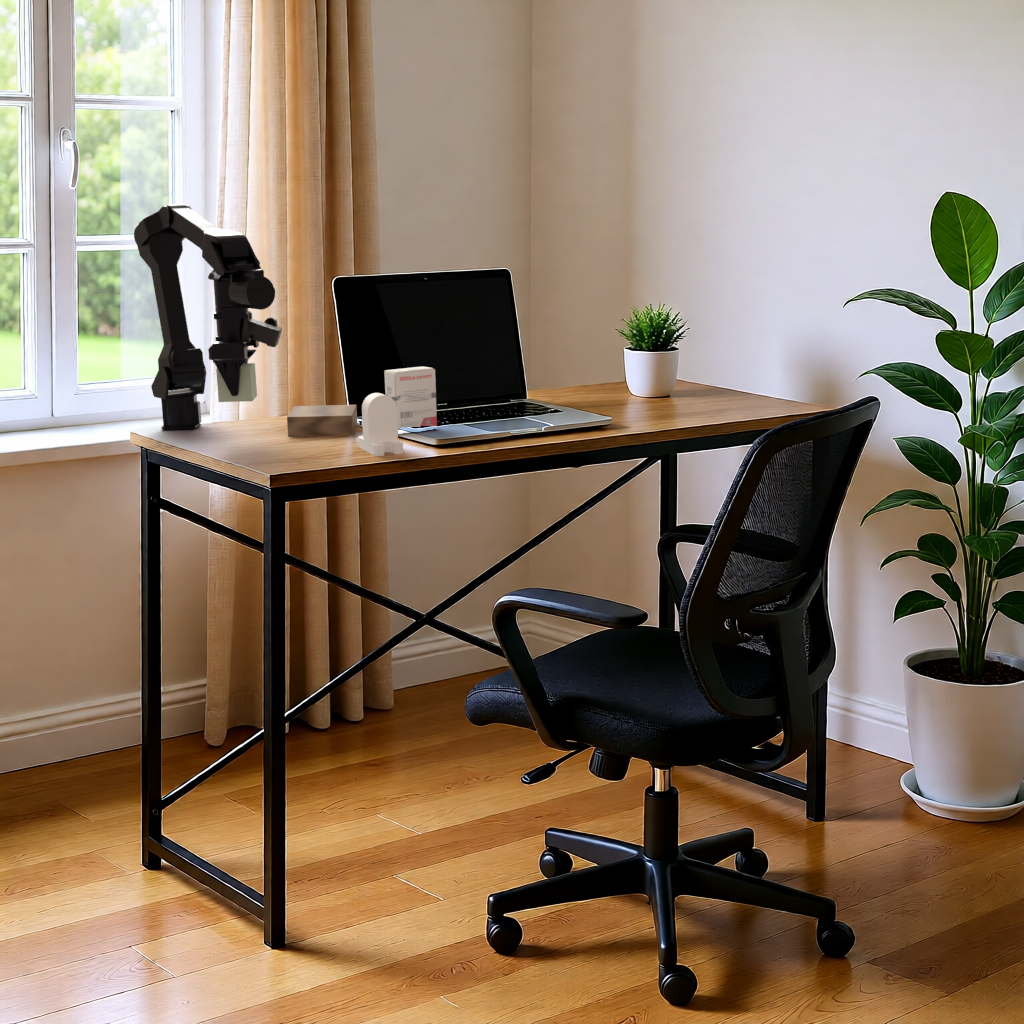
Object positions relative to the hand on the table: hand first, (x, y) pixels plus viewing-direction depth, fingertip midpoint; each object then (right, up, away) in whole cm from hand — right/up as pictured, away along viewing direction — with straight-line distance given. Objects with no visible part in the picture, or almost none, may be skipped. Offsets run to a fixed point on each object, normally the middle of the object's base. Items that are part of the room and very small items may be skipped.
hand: (237, 393), depth 251 cm
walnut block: (+14, -6, +14) cm, 20 cm away
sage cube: (0, -1, 0) cm, 1 cm away
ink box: (+31, -6, +10) cm, 33 cm away
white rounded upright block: (+26, -11, -6) cm, 29 cm away
